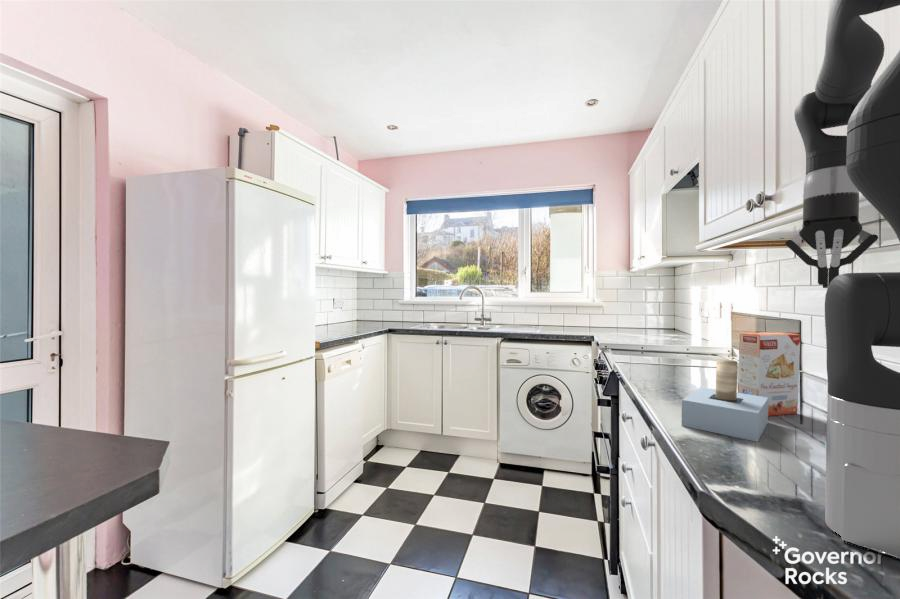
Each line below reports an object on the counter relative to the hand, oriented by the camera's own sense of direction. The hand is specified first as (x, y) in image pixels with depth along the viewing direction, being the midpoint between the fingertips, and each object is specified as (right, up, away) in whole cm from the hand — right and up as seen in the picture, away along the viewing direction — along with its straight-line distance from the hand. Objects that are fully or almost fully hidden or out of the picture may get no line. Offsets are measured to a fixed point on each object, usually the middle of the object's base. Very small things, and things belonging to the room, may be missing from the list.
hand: (828, 287), depth 73 cm
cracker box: (+12, -32, +28) cm, 44 cm away
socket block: (-6, -32, +19) cm, 37 cm away
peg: (-6, -31, +19) cm, 36 cm away
